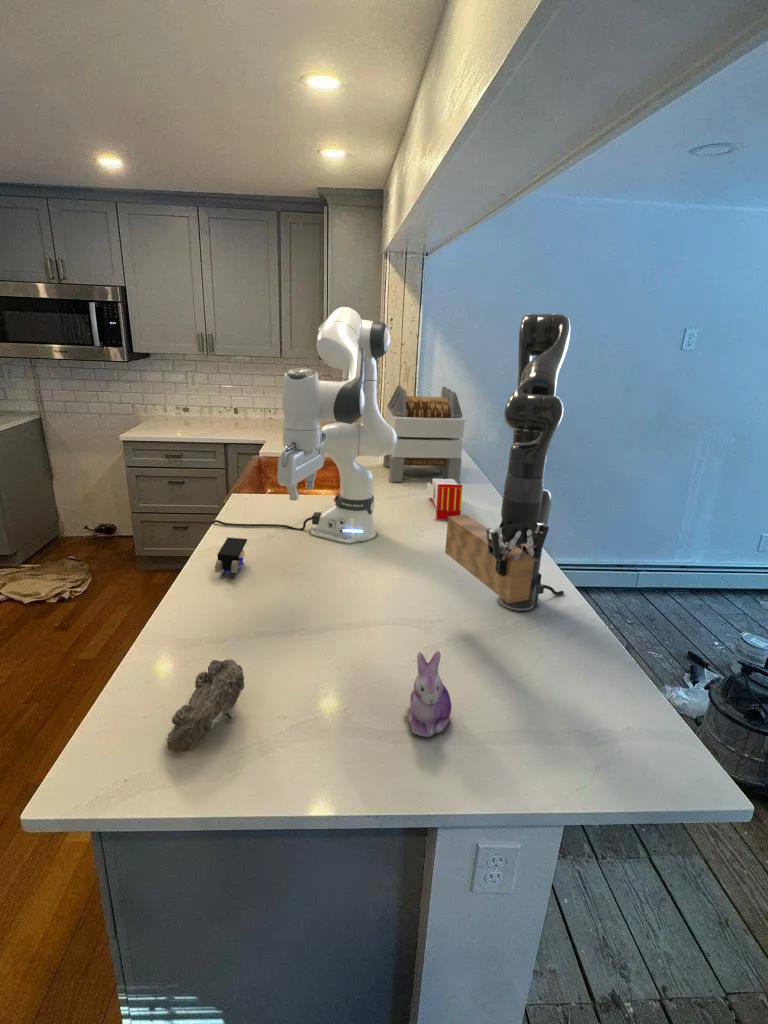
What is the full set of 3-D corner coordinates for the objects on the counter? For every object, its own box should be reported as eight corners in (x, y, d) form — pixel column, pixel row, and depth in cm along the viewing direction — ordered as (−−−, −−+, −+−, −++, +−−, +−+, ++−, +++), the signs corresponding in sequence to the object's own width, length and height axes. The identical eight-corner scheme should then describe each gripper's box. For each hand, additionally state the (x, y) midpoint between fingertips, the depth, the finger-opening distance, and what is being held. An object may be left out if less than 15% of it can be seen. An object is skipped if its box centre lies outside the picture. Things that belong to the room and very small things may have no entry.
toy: (454, 474, 240) (466, 486, 210) (452, 505, 242) (464, 521, 213) (426, 473, 239) (434, 485, 210) (424, 504, 242) (432, 520, 212)
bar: (444, 552, 139) (447, 516, 136) (462, 550, 141) (466, 514, 138) (508, 603, 116) (513, 561, 113) (528, 599, 118) (534, 558, 115)
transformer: (382, 463, 289) (386, 382, 275) (445, 464, 293) (451, 384, 279) (390, 482, 257) (394, 392, 243) (460, 483, 261) (468, 394, 247)
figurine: (421, 746, 103) (427, 677, 98) (394, 712, 111) (398, 646, 106) (464, 731, 107) (471, 664, 102) (435, 699, 116) (441, 635, 110)
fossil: (192, 660, 117) (244, 628, 112) (224, 691, 120) (276, 661, 115) (142, 746, 98) (202, 712, 93) (182, 779, 101) (242, 748, 96)
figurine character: (238, 584, 162) (249, 557, 175) (236, 562, 158) (247, 536, 172) (215, 584, 161) (227, 556, 175) (212, 561, 158) (225, 535, 171)
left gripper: (295, 449, 125) (296, 508, 130) (329, 432, 144) (328, 484, 148) (269, 446, 127) (271, 505, 131) (306, 429, 145) (306, 481, 150)
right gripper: (503, 504, 107) (493, 585, 112) (563, 498, 112) (551, 576, 118) (481, 492, 113) (473, 570, 119) (540, 487, 118) (529, 561, 124)
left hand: (302, 494), depth 140 cm, fingers open, 8 cm apart
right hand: (512, 572), depth 118 cm, fingers closed on bar, 5 cm apart
